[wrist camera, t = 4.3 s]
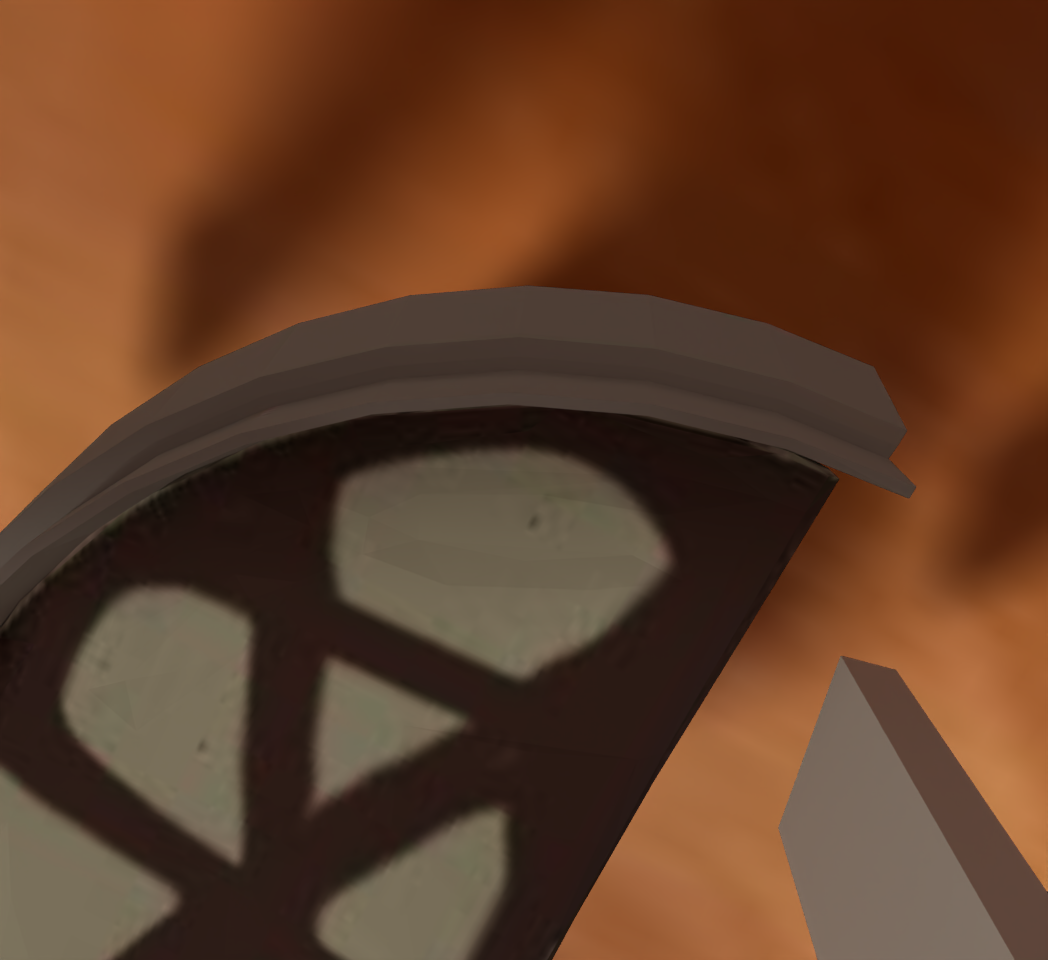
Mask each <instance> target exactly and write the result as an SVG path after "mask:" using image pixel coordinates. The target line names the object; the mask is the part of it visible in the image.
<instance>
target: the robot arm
mask: <svg viewBox="0 0 1048 960" xmlns="http://www.w3.org/2000/svg"><path fill="white" fill-rule="evenodd" d="M778 829H779V832H780V835H781V839H782V842H783V845H784V849H785V852H786V855H787V859H788V862H789V865H790V869H791V872H792V875H793V879H794V882H795V885H796V889H797V892H798V896H799V899H800V902H801V906H802V909H803V912H804V916H805V919H806V922H807V926H808V929H809V932H810V936H811V939H812V942H813V946H814V949H815V952H816V956H817V959H818V960H1048V892H1047V891H1046V890H1045V888H1044V887H1043V885H1042V884H1041V882H1040V881H1039V880H1038V878H1037V877H1036V875H1035V874H1034V872H1033V871H1032V869H1031V868H1030V866H1029V865H1028V863H1027V862H1026V860H1025V859H1024V857H1023V856H1022V855H1021V853H1020V852H1019V850H1018V849H1017V847H1016V846H1015V844H1014V843H1013V841H1012V840H1011V838H1010V837H1009V835H1008V834H1007V832H1006V831H1005V830H1004V828H1003V827H1002V825H1001V824H1000V822H999V821H998V819H997V818H996V816H995V815H994V813H993V812H992V810H991V809H990V807H989V806H988V804H987V803H986V802H985V800H984V799H983V797H982V796H981V794H980V793H979V791H978V790H977V788H976V787H975V785H974V784H973V782H972V781H971V779H970V778H969V777H968V775H967V774H966V772H965V771H964V769H963V768H962V766H961V765H960V763H959V762H958V760H957V759H956V757H955V756H954V754H953V753H952V752H951V750H950V749H949V747H948V746H947V744H946V743H945V741H944V740H943V738H942V737H941V735H940V734H939V732H938V731H937V729H936V728H935V727H934V725H933V724H932V722H931V721H930V719H929V718H928V716H927V715H926V713H925V712H924V710H923V709H922V707H921V706H920V704H919V703H918V702H917V700H916V699H915V697H914V696H913V694H912V693H911V691H910V690H909V688H908V687H907V685H906V684H905V682H904V681H903V679H902V678H901V677H900V675H899V674H898V672H897V671H896V670H895V669H891V668H887V667H883V666H879V665H875V664H872V663H868V662H864V661H860V660H856V659H852V658H848V657H845V656H840V659H839V662H838V665H837V667H836V670H835V673H834V676H833V678H832V681H831V684H830V687H829V689H828V692H827V695H826V698H825V700H824V703H823V706H822V709H821V711H820V714H819V717H818V720H817V722H816V725H815V728H814V731H813V733H812V736H811V739H810V742H809V745H808V747H807V750H806V753H805V756H804V758H803V761H802V764H801V767H800V769H799V772H798V775H797V778H796V780H795V783H794V786H793V789H792V791H791V794H790V797H789V800H788V802H787V805H786V808H785V811H784V813H783V816H782V819H781V822H780V824H779V827H778Z"/></svg>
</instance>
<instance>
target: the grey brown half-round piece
mask: <svg viewBox="0 0 1048 960" xmlns="http://www.w3.org/2000/svg"><path fill="white" fill-rule="evenodd" d="M906 432H907V429H906V428H905V426H904V424H903V422H902V420H901V418H900V416H899V414H898V412H897V410H896V408H895V406H894V405H893V403H892V401H891V399H890V397H889V395H888V393H887V391H886V389H885V387H884V385H883V384H882V382H881V380H880V378H879V376H878V374H877V372H876V370H875V368H874V367H873V366H871V365H868V364H866V363H863V362H861V361H858V360H856V359H853V358H851V357H849V356H846V355H844V354H841V353H839V352H836V351H834V350H831V349H829V348H826V347H824V346H822V345H819V344H817V343H814V342H812V341H809V340H807V339H804V338H802V337H799V336H797V335H795V334H792V333H790V332H787V331H785V330H782V329H780V328H777V327H775V326H772V325H770V324H768V323H764V322H759V321H755V320H751V319H747V318H743V317H739V316H734V315H730V314H726V313H722V312H718V311H714V310H709V309H705V308H701V307H697V306H693V305H689V304H684V303H680V302H676V301H672V300H668V299H664V298H659V297H655V296H651V295H643V294H630V293H617V292H604V291H591V290H578V289H565V288H552V287H539V286H518V287H505V288H493V289H481V290H469V291H457V292H444V293H432V294H420V295H409V296H405V297H401V298H397V299H393V300H390V301H386V302H382V303H378V304H374V305H370V306H366V307H362V308H358V309H354V310H350V311H346V312H342V313H338V314H334V315H330V316H326V317H322V318H318V319H314V320H310V321H306V322H302V323H298V324H296V325H294V326H291V327H289V328H287V329H284V330H282V331H280V332H278V333H275V334H273V335H271V336H268V337H266V338H264V339H262V340H259V341H257V342H255V343H252V344H250V345H248V346H246V347H243V348H241V349H239V350H236V351H234V352H232V353H230V354H227V355H225V356H223V357H220V358H218V359H216V360H214V361H211V362H209V363H207V364H204V365H202V366H200V367H198V368H196V369H195V370H193V371H192V372H190V373H189V374H187V375H186V376H184V377H183V378H181V379H180V380H178V381H177V382H175V383H174V384H172V385H171V386H169V387H168V388H166V389H165V390H163V391H162V392H160V393H159V394H157V395H156V396H154V397H153V398H151V399H150V400H148V401H147V402H145V403H144V404H142V405H141V406H139V407H137V408H136V409H134V410H133V411H131V412H130V413H128V414H127V415H125V416H124V417H122V418H121V419H119V420H118V421H116V422H115V423H113V424H112V425H111V426H110V427H108V428H107V429H106V430H105V431H104V432H103V433H102V434H101V435H100V436H99V437H98V438H97V439H96V440H95V441H94V442H93V443H92V444H91V445H90V446H89V447H88V448H87V449H85V450H84V451H83V452H82V453H81V454H80V455H79V456H78V457H77V458H76V459H75V460H74V461H73V462H72V463H71V464H70V465H69V466H68V467H67V468H66V469H65V470H64V471H63V472H61V473H60V474H59V475H58V476H57V477H56V478H55V479H54V480H53V481H52V482H51V483H50V484H49V485H48V486H47V487H46V488H45V489H44V490H43V491H42V492H41V493H40V494H39V495H38V496H37V497H36V498H35V499H34V500H33V501H32V502H31V503H30V504H29V505H28V506H27V507H26V508H25V509H24V510H23V511H22V512H21V513H20V514H19V515H18V516H17V517H16V518H15V519H14V520H13V521H12V522H11V523H10V524H9V525H8V526H7V527H6V528H5V529H3V530H2V531H1V532H0V960H552V959H553V957H554V955H555V953H556V952H557V950H558V948H559V946H560V944H561V942H562V941H563V939H564V937H565V935H566V933H567V931H568V929H569V928H570V926H571V924H572V922H573V920H574V918H575V917H576V915H577V913H578V912H579V910H580V908H581V906H582V905H583V903H584V901H585V899H586V898H587V896H588V894H589V893H590V891H591V889H592V887H593V886H594V884H595V882H596V880H597V879H598V877H599V875H600V873H601V872H602V870H603V868H604V867H605V865H606V863H607V861H608V860H609V858H610V856H611V854H612V853H613V851H614V849H615V848H616V846H617V844H618V842H619V841H620V839H621V837H622V835H623V834H624V832H625V830H626V828H627V827H628V825H629V823H630V822H631V820H632V818H633V816H634V815H635V813H636V811H637V809H638V808H639V806H640V804H641V803H642V801H643V799H644V797H645V796H646V794H647V792H648V790H649V789H650V787H651V785H652V783H653V782H654V780H655V779H656V777H657V775H658V774H659V772H660V770H661V769H662V767H663V766H664V764H665V762H666V761H667V759H668V757H669V756H670V754H671V753H672V751H673V749H674V748H675V746H676V744H677V743H678V741H679V740H680V738H681V736H682V735H683V733H684V731H685V730H686V728H687V727H688V725H689V723H690V722H691V720H692V718H693V717H694V715H695V714H696V712H697V710H698V709H699V707H700V705H701V704H702V702H703V701H704V699H705V697H706V696H707V694H708V692H709V691H710V689H711V688H712V686H713V684H714V683H715V681H716V679H717V678H718V676H719V675H720V673H721V671H722V670H723V668H724V666H725V665H726V663H727V662H728V660H729V658H730V657H731V655H732V653H733V652H734V650H735V648H736V647H737V645H738V644H739V642H740V640H741V639H742V637H743V635H744V634H745V632H746V631H747V629H748V627H749V626H750V624H751V622H752V621H753V619H754V618H755V616H756V614H757V613H758V611H759V609H760V608H761V606H762V605H763V603H764V601H765V600H766V598H767V596H768V595H769V593H770V591H771V590H772V588H773V587H774V585H775V583H776V582H777V580H778V578H779V577H780V575H781V573H782V572H783V570H784V569H785V567H786V565H787V564H788V562H789V560H790V559H791V557H792V555H793V554H794V552H795V551H796V549H797V547H798V546H799V544H800V542H801V541H802V539H803V538H804V536H805V534H806V533H807V531H808V529H809V528H810V526H811V524H812V523H813V521H814V520H815V518H816V516H817V515H818V513H819V511H820V510H821V508H822V506H823V505H824V503H825V502H826V500H827V498H828V497H829V495H830V493H831V492H832V490H833V488H834V487H835V485H836V484H837V482H838V480H839V478H838V477H837V476H836V475H835V474H834V473H832V472H831V471H830V470H829V469H828V468H826V467H824V466H823V465H821V464H819V463H822V464H824V465H827V466H829V467H831V468H834V469H836V470H839V471H841V472H844V473H846V474H849V475H851V476H854V477H856V478H859V479H861V480H864V481H866V482H869V483H871V484H874V485H876V486H879V487H881V488H884V489H886V490H889V491H891V492H894V493H896V494H899V495H901V496H904V497H906V498H910V497H911V495H912V493H913V492H914V490H915V488H916V486H915V485H914V484H913V483H912V482H911V481H910V480H909V479H908V478H907V477H906V476H905V475H904V474H903V473H902V472H901V471H900V470H899V469H898V468H897V467H896V466H895V465H894V464H893V463H892V462H891V461H890V460H889V457H890V456H891V455H892V453H893V452H894V450H895V449H896V448H897V446H898V445H899V443H900V441H901V440H902V438H903V436H904V435H905V433H906ZM816 461H817V462H816ZM818 462H819V463H818Z"/></svg>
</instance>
